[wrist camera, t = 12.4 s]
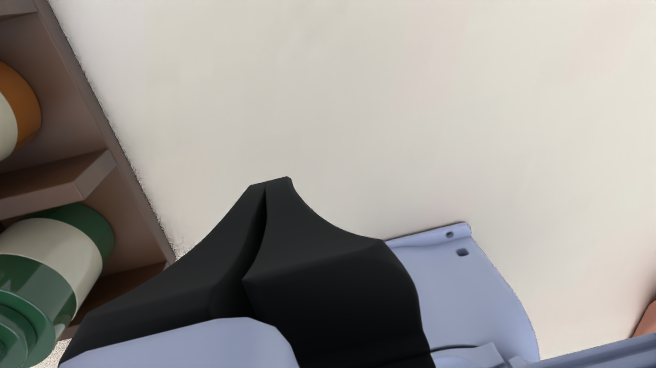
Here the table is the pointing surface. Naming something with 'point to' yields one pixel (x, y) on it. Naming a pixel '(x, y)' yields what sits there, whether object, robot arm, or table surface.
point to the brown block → (647, 321)
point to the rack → (74, 156)
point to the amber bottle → (16, 112)
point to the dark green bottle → (47, 277)
